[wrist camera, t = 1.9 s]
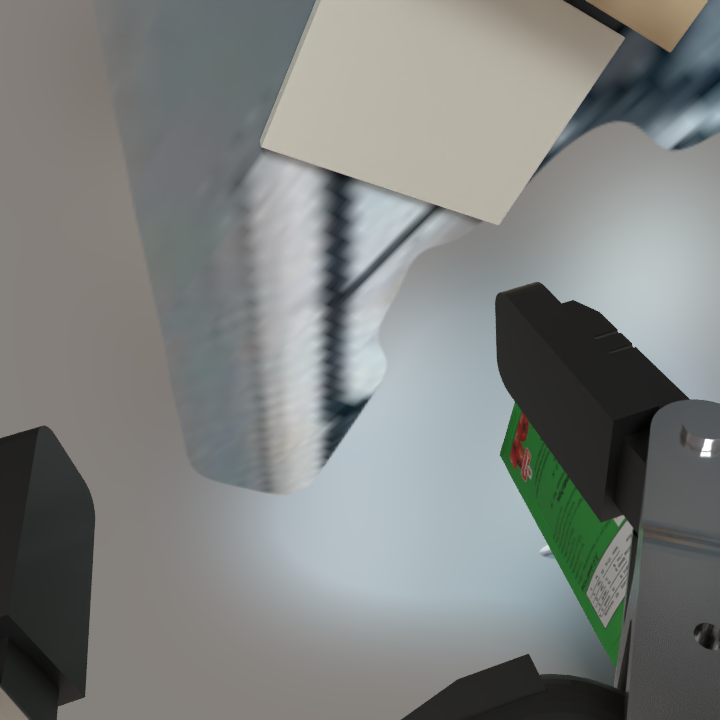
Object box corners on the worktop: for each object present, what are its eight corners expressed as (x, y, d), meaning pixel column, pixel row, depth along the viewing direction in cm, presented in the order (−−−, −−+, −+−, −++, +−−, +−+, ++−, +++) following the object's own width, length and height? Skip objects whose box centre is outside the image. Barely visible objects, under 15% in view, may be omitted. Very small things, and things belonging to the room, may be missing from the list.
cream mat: (364, -120, 27) (368, -117, 27) (619, 33, 35) (625, 37, 35) (259, 141, 34) (261, 147, 33) (494, 220, 42) (498, 225, 41)
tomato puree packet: (504, 453, 62) (622, 666, 48) (493, 455, 62) (608, 671, 48) (540, 332, 51) (704, 564, 37) (527, 335, 51) (687, 570, 37)
